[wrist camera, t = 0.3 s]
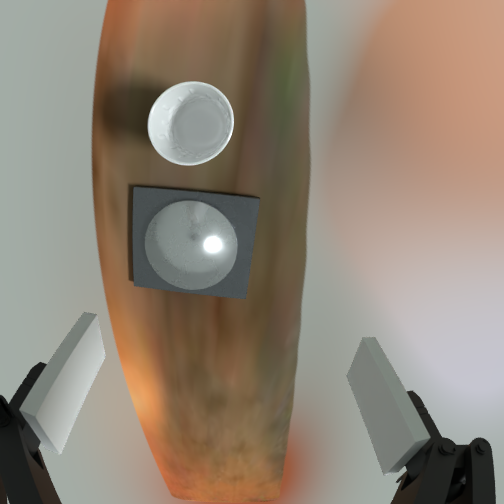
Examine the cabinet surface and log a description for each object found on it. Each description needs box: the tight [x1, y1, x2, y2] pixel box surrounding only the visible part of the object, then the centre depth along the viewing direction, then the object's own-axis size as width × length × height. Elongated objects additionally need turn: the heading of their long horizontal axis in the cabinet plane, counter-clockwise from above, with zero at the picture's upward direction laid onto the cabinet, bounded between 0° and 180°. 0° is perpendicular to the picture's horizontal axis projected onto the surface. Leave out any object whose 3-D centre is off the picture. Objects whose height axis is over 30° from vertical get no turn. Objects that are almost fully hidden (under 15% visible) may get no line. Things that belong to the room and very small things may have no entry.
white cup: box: [148, 81, 234, 165], centre depth 29 cm, size 8×8×10 cm
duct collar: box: [133, 186, 260, 299], centre depth 38 cm, size 14×16×2 cm
